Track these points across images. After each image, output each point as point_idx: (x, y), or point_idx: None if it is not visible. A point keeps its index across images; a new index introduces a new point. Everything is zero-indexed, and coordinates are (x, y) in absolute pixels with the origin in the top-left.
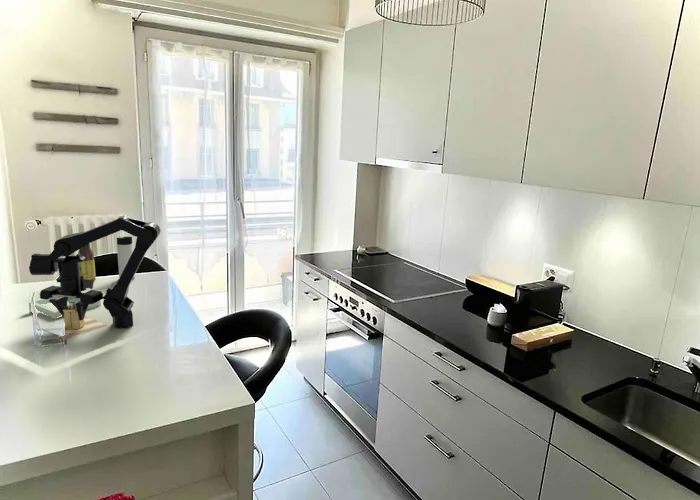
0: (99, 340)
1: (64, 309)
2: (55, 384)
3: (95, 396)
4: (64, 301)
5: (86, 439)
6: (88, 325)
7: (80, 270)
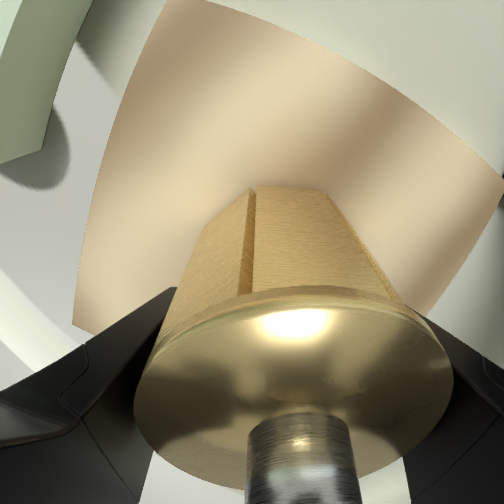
0: (474, 327)
1: (226, 481)
2: (398, 492)
3: None
4: (84, 482)
5: None
6: (385, 214)
7: None
